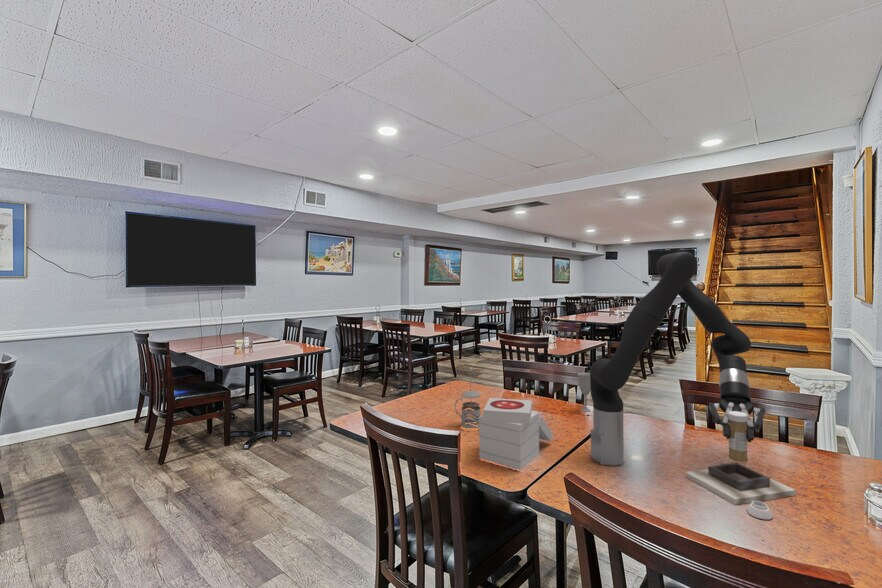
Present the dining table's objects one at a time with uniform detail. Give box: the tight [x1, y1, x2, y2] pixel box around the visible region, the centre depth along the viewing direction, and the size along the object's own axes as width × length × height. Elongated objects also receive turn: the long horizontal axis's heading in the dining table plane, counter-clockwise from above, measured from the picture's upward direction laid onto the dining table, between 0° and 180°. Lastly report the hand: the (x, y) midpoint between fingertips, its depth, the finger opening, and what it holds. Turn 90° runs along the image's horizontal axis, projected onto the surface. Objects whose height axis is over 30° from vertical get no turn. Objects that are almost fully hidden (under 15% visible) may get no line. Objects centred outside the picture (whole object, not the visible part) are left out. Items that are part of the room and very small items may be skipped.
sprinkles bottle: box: [728, 411, 749, 463], centre depth 115 cm, size 5×5×13 cm
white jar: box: [746, 501, 774, 521], centre depth 100 cm, size 5×3×5 cm
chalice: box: [577, 372, 591, 412], centre depth 181 cm, size 7×7×18 cm
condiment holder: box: [685, 462, 797, 506], centre depth 115 cm, size 20×16×4 cm
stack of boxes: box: [478, 397, 554, 470], centre depth 140 cm, size 19×30×18 cm, turn 144°
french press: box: [454, 366, 481, 428], centre depth 165 cm, size 10×12×25 cm
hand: (738, 439), depth 113 cm, fingers closed on sprinkles bottle, 4 cm apart
